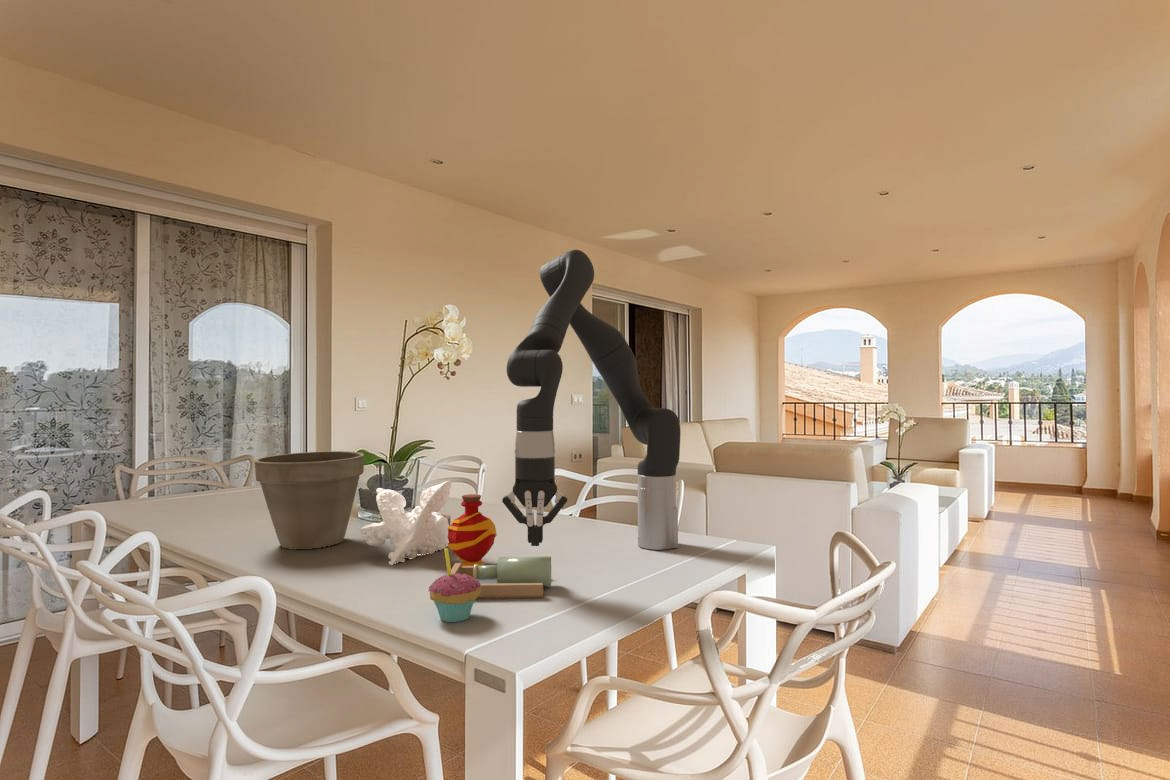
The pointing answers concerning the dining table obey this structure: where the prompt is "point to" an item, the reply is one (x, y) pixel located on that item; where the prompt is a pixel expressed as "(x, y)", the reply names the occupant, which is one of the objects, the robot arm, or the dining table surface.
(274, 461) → the plant pot
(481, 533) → the potion bottle
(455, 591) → the cupcake
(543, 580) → the bottle
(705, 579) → the dining table surface
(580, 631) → the dining table surface
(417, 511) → the white lumpy branched piece
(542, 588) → the wooden shallow tray
